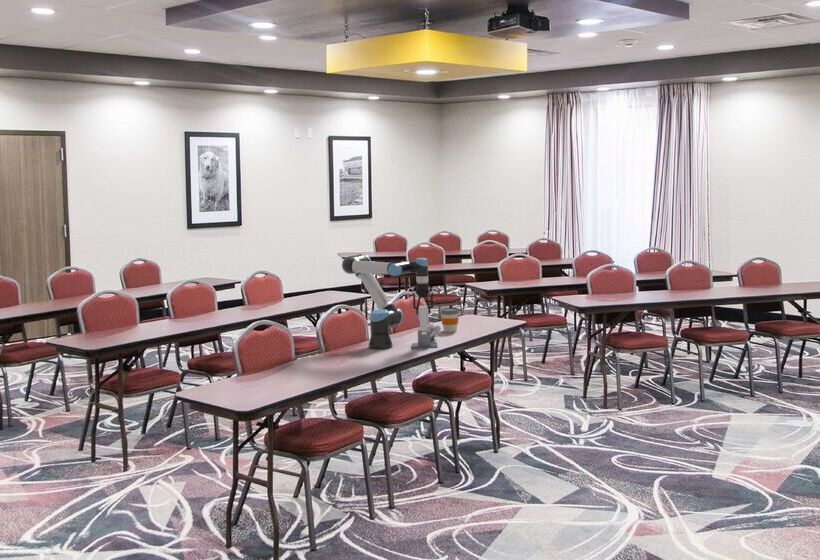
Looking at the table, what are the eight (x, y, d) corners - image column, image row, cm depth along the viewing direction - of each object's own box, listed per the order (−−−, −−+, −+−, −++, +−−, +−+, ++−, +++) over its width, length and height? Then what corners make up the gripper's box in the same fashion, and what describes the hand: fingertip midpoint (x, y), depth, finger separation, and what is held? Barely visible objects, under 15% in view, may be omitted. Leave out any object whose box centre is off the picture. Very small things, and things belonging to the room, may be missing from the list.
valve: (431, 337, 579) (446, 332, 568) (416, 352, 567) (431, 348, 556) (422, 324, 577) (437, 319, 566) (407, 340, 565) (422, 335, 554)
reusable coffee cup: (438, 330, 605) (438, 308, 603) (455, 328, 608) (455, 307, 607) (444, 333, 593) (443, 311, 591) (461, 331, 596) (461, 310, 594)
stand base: (411, 348, 544) (411, 332, 543) (412, 344, 556) (411, 329, 555) (437, 347, 544) (436, 331, 543) (437, 343, 556) (436, 328, 555)
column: (420, 335, 547) (419, 307, 545) (420, 334, 552) (419, 306, 550) (428, 335, 547) (427, 307, 545) (428, 333, 552) (427, 305, 550)
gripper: (408, 283, 542) (409, 320, 545) (436, 283, 542) (438, 319, 544) (408, 282, 549) (409, 318, 552) (436, 281, 549) (437, 317, 552)
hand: (423, 319), depth 548 cm, fingers closed on column, 5 cm apart
